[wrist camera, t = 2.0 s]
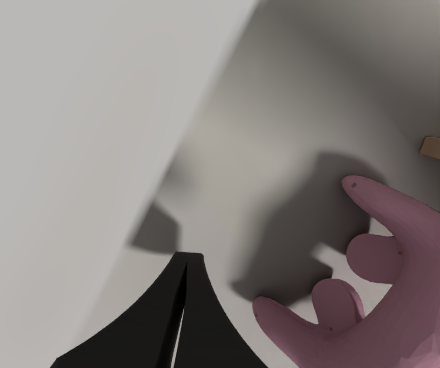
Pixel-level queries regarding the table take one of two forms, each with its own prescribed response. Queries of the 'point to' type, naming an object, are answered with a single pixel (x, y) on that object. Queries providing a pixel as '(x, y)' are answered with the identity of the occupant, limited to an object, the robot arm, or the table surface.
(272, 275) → the table surface
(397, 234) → the video game controller
